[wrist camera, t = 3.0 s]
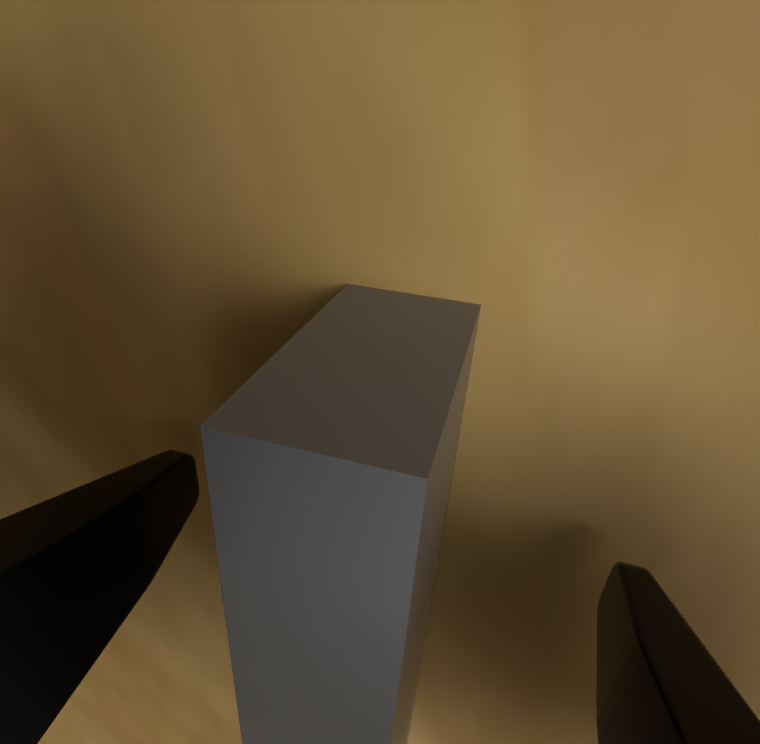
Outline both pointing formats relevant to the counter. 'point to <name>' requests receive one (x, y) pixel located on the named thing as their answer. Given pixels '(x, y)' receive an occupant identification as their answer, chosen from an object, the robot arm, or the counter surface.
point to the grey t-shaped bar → (338, 514)
